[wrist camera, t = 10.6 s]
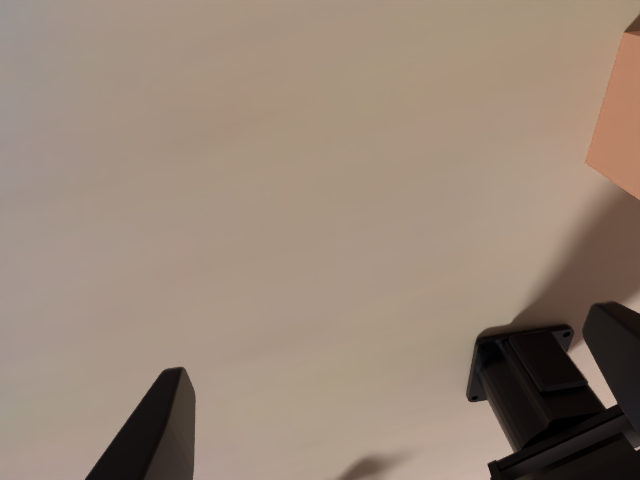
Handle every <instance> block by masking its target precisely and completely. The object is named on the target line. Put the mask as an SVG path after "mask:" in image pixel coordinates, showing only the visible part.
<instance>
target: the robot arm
mask: <svg viewBox="0 0 640 480" xmlns="http://www.w3.org/2000/svg"><path fill="white" fill-rule="evenodd" d="M582 333H583V337H584V340H585V342H586V344H587V346H588V348H589V350H590V351H591V353H592V355H593V357H594V359H595V361H596V363H597V365H598V367H599V369H600V371H601V373H602V374H603V376H604V378H605V380H606V382H607V384H608V386H609V388H610V390H611V392H612V393H613V395H614V397H615V399H616V401H617V405H614V406H612V407H610V408H608V409H606V408H605V406H604V405H603V403H602V402H601V401H600V399H599V398H598V397H597V395H596V394H595V393H594V391H593V390H592V389H591V387H590V386H589V385H588V381H587V379H586V378H585V376H584V375H583V374H582V372H581V371H580V370H579V368H578V367H577V366H576V364H575V363H574V362H573V360H572V359H571V358H570V356H569V355H568V354H567V351H568V348H569V345H570V343H571V340H572V337H573V335H574V331H573V329H572V328H571V327H570V326H569V325H560V326H554V327H547V328H541V329H535V330H528V331H522V332H515V333H509V334H502V335H496V336H489V337H483V338H480V339H478V340H477V341H476V343H475V347H474V353H473V358H472V364H471V369H470V375H469V380H468V386H467V392H466V396H467V399H468V401H469V402H478V401H484V400H488V402H489V404H490V406H491V408H492V410H493V412H494V414H495V416H496V418H497V420H498V422H499V424H500V426H501V428H502V430H503V432H504V434H505V436H506V438H507V440H508V442H509V444H510V446H511V448H512V450H513V452H514V453H513V454H511V455H509V456H507V457H504V458H502V459H500V460H498V461H496V460H494V461H492V462H490V463H488V467H489V470H490V474H491V478H490V479H491V480H640V449H639V450H637V451H636V450H635V449H634V448H636V447H639V446H640V314H639V313H637V312H635V311H633V310H631V309H629V308H627V307H625V306H623V305H621V304H619V303H617V302H614V301H605V302H598V303H594V304H593V305H592V306H591V307H590V310H589V312H588V315H587V317H586V320H585V323H584V325H583V329H582ZM195 402H196V400H195V391H194V388H193V386H192V383H191V381H190V379H189V376H188V374H187V372H186V370H185V368H184V367H175V368H168V369H165V370H164V371H162V372H161V374H160V375H159V376H158V378H157V379H156V381H155V382H154V383H153V385H152V386H151V388H150V389H149V390H148V392H147V393H146V395H145V396H144V397H143V399H142V400H141V402H140V403H139V404H138V406H137V407H136V409H135V410H134V411H133V413H132V414H131V416H130V417H129V418H128V420H127V421H126V423H125V424H124V425H123V427H122V428H121V430H120V431H119V432H118V434H117V435H116V437H115V438H114V439H113V441H112V442H111V444H110V445H109V446H108V448H107V449H106V451H105V452H104V453H103V455H102V456H101V458H100V459H99V460H98V462H97V463H96V464H95V466H94V467H93V469H92V470H91V471H90V473H89V474H88V476H87V477H86V478H85V480H193V472H194V444H195Z"/></svg>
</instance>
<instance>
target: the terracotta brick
mask: <svg viewBox="0 0 640 480" xmlns="http://www.w3.org/2000/svg"><path fill="white" fill-rule="evenodd" d="M585 163H586V164H587V165H589V166H590V167H592V168H593V169H595V170H596V171H597V172H599V173H600V174H602V175H603V176H605V177H606V178H608V179H609V180H611V181H612V182H614V183H615V184H617V185H618V186H620V187H621V188H622V189H624V190H625V191H627V192H628V193H630V194H631V195H633V196H634V197H636V198H637V199H639V200H640V30H639V31H631V32H623V36H622V39H621V42H620V46H619V49H618V52H617V56H616V59H615V63H614V66H613V69H612V73H611V76H610V79H609V83H608V86H607V90H606V93H605V96H604V100H603V103H602V106H601V110H600V113H599V117H598V120H597V123H596V127H595V130H594V133H593V137H592V140H591V144H590V147H589V150H588V154H587V157H586V160H585Z"/></svg>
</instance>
